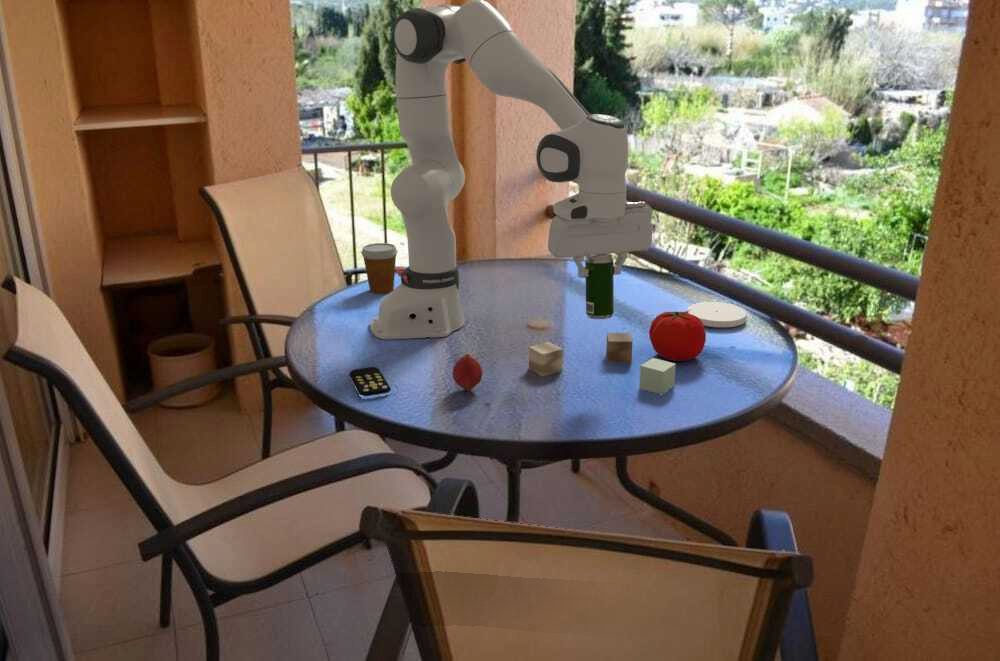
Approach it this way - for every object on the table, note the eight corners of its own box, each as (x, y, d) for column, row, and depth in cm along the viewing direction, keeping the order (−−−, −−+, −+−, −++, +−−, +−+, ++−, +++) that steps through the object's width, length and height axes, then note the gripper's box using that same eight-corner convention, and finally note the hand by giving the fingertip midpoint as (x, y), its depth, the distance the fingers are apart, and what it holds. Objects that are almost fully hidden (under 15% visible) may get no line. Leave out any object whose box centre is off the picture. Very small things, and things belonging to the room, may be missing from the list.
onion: (447, 390, 165) (445, 352, 163) (468, 381, 169) (467, 345, 166) (467, 399, 162) (466, 361, 159) (488, 390, 165) (488, 352, 162)
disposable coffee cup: (360, 287, 228) (357, 244, 224) (394, 283, 231) (392, 241, 227) (368, 297, 220) (365, 253, 216) (403, 293, 223) (401, 249, 219)
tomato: (711, 353, 182) (715, 308, 179) (694, 371, 173) (697, 325, 169) (658, 343, 188) (661, 299, 184) (639, 360, 179) (642, 315, 175)
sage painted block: (661, 395, 163) (663, 371, 161) (639, 388, 166) (640, 365, 164) (674, 386, 166) (675, 363, 165) (651, 380, 169) (653, 357, 167)
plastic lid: (757, 322, 201) (759, 312, 200) (721, 335, 193) (722, 325, 192) (710, 307, 211) (711, 298, 210) (674, 319, 203) (674, 310, 202)
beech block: (542, 376, 171) (542, 354, 170) (528, 368, 175) (528, 346, 174) (562, 371, 174) (562, 349, 172) (548, 363, 178) (548, 341, 176)
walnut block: (607, 363, 178) (608, 341, 176) (606, 354, 182) (607, 332, 181) (631, 363, 178) (632, 341, 176) (629, 354, 182) (630, 333, 180)
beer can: (601, 321, 160) (601, 258, 157) (580, 316, 164) (579, 256, 161) (619, 315, 164) (619, 254, 161) (598, 311, 168) (597, 252, 164)
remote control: (377, 373, 175) (377, 364, 174) (392, 397, 164) (392, 388, 163) (348, 377, 173) (347, 368, 172) (361, 402, 162) (360, 393, 161)
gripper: (645, 197, 162) (641, 266, 167) (545, 204, 157) (544, 275, 162) (660, 204, 157) (655, 275, 162) (557, 212, 151) (556, 285, 156)
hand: (599, 275), depth 162 cm, fingers closed on beer can, 5 cm apart
